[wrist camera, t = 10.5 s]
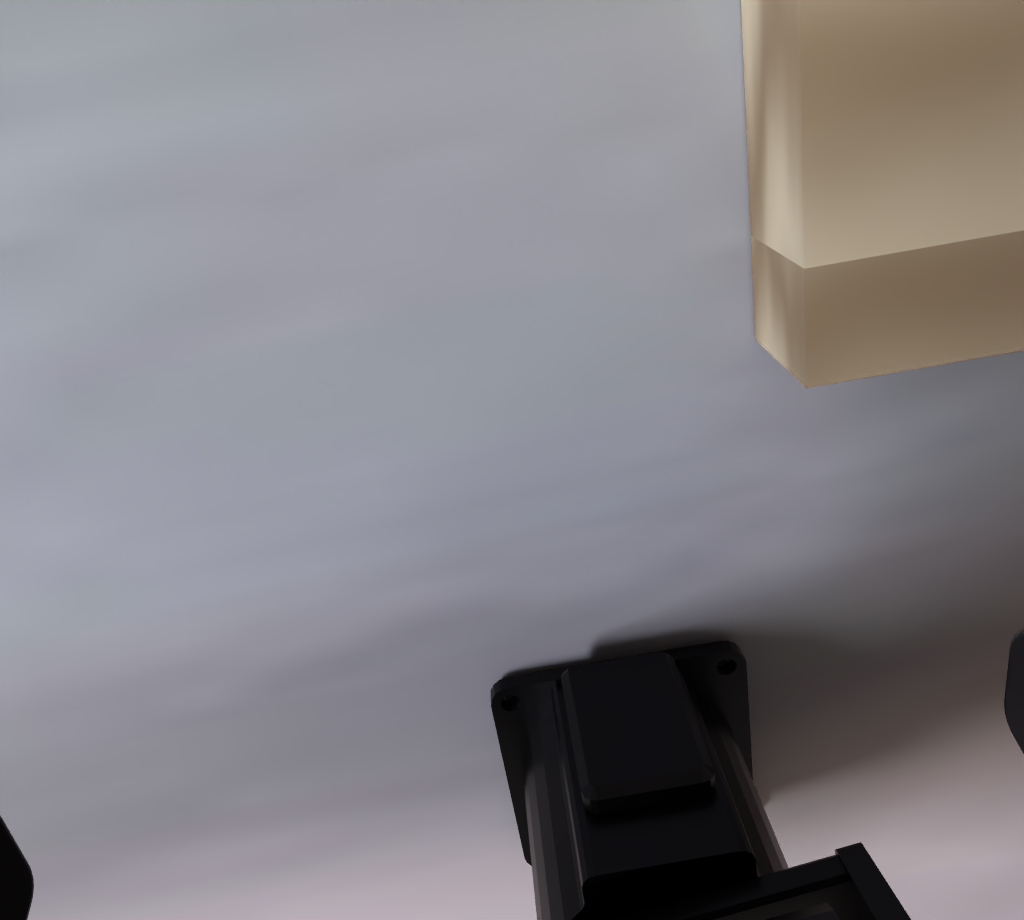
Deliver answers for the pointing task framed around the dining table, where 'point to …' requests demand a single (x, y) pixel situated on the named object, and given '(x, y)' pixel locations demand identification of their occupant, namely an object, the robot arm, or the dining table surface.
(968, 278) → the socket block
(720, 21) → the dining table surface
